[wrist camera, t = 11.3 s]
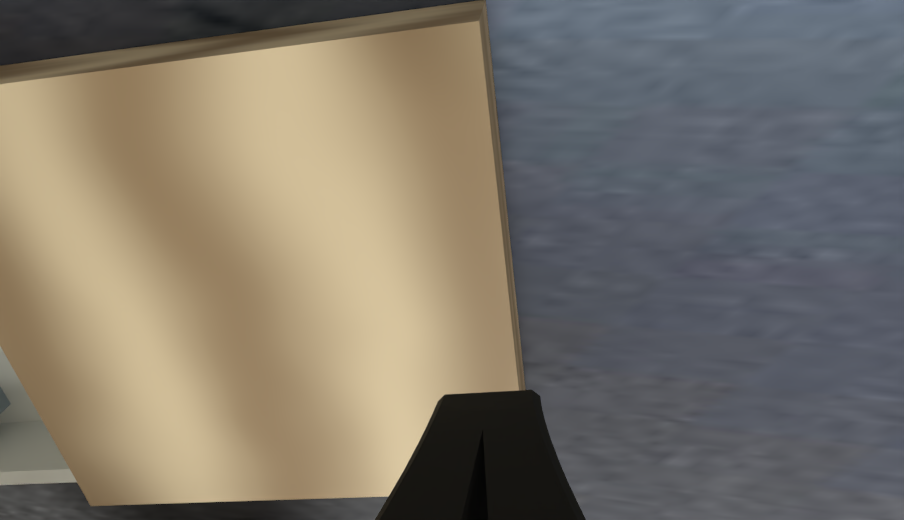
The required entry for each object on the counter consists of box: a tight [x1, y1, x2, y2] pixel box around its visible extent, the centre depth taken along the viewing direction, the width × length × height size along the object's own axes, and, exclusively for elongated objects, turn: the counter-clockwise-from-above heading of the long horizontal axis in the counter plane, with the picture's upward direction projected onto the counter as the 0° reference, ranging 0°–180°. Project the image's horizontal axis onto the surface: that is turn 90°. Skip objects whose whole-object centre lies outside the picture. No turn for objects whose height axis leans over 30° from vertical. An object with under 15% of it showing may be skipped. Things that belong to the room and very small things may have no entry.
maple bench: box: [0, 0, 525, 506], centre depth 18 cm, size 14×13×4 cm
